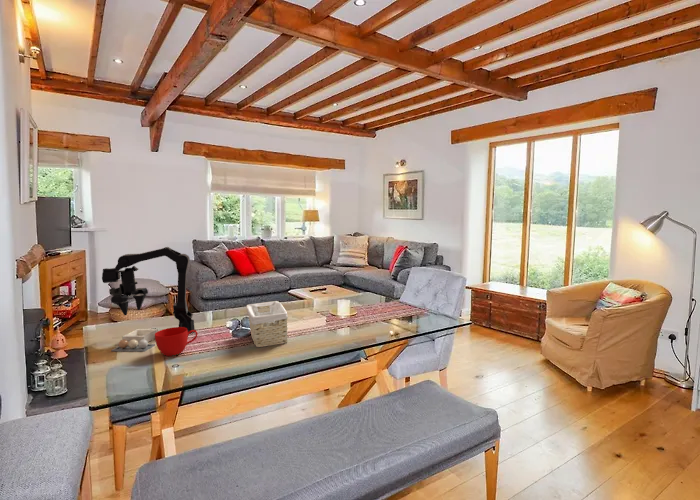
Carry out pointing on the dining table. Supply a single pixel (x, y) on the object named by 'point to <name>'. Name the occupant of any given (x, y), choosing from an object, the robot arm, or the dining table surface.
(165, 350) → the ceramic cup
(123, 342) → the orange tan ball
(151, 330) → the stoneware dish
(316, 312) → the dining table surface
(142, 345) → the glossy white ball
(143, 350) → the slate tray
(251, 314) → the storage basket
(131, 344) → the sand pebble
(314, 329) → the dining table surface
